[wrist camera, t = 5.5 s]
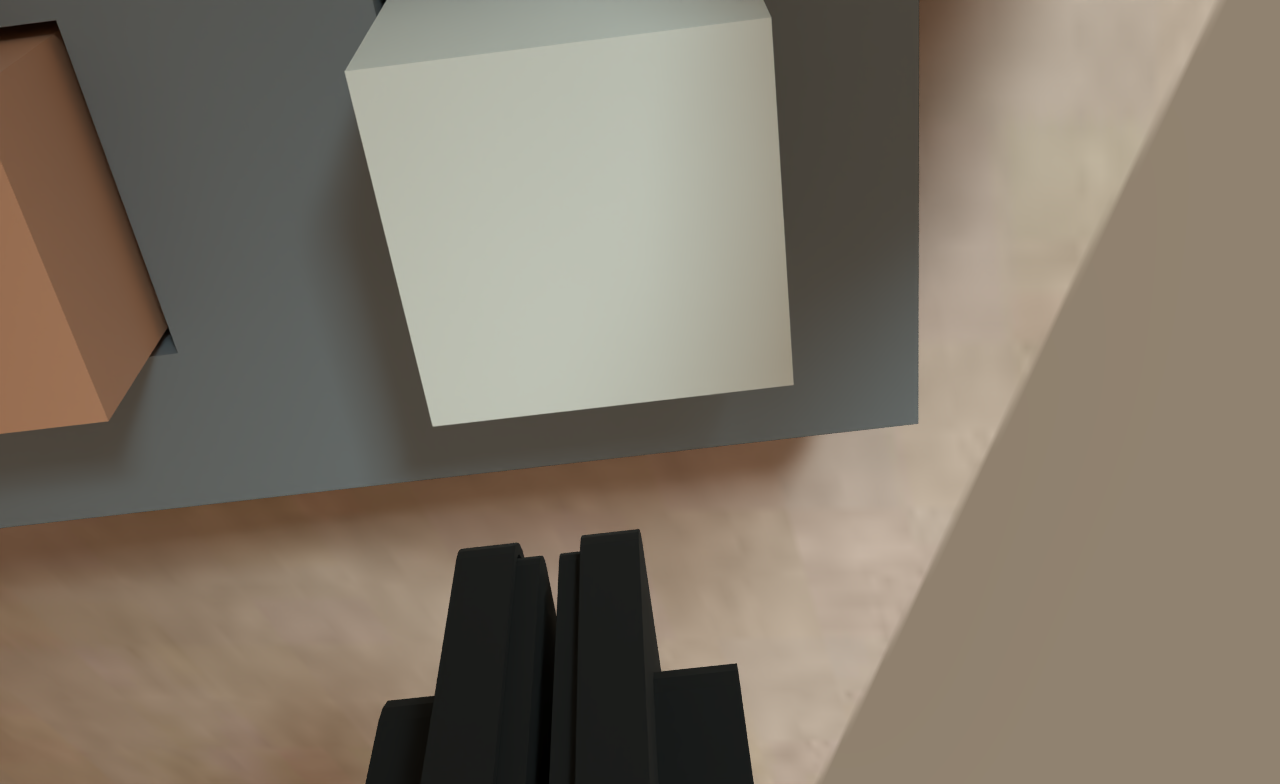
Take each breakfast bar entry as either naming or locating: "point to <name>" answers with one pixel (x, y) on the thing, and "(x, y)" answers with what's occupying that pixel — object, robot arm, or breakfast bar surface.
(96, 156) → the rust key
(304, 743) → the breakfast bar surface
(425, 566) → the breakfast bar surface
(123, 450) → the key panel
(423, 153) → the cream key
